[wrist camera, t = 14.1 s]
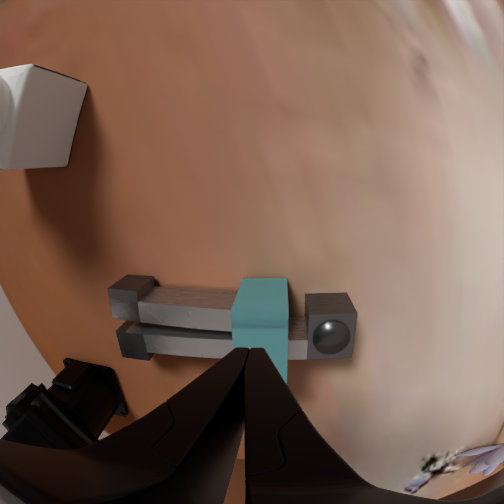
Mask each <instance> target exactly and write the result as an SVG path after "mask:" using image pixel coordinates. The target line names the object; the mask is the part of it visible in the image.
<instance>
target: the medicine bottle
mask: <svg viewBox="0 0 504 504" xmlns="http://www.w3.org/2000/svg"><path fill="white" fill-rule="evenodd" d="M87 86H88V85H87V83H85V82H83V81H80V80H77V79H75V78H72V77H69V76H66V75H64V74H61V73H58V72H55V71H52V70H49V69H46V68H43V67H40V66H37V65H33V64H28V65H21V66H15V67H10V68H5V69H0V169H3V170H16V169H30V168H48V167H65V166H67V164H68V161H69V156H70V151H71V146H72V141H73V137H74V133H75V129H76V125H77V121H78V117H79V113H80V110H81V106H82V103H83V99H84V96H85V93H86V90H87Z"/></svg>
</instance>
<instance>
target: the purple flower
mask: <svg viewBox="0 0 504 504" xmlns="http://www.w3.org/2000/svg"><path fill="white" fill-rule="evenodd" d="M493 449H494V450H493ZM490 450H491V451H490ZM487 451H489V452H487ZM484 452H487V453H485V454H483V455H481V456H479V457H477V458H475V459H474V460H472V461H470V462H469V463H467V464H466V465H464V466H463V467H466V466H469V465H472V464H475V463H477V462H478V463H477V464H476V465H475V466H474V467H473V468H472V469H471V470H470V471H469V474H474V473H478V472H481V471H482V472H483V476H487V475H489V474H490V473H492V472H493V471H494V470H495V469H496V468H497V466H498V465H499V464H502V463H501V462H503V463H504V443H502V444H498V445H495V446H487V447H481V448H476V449H472V450H469V451H466V452H463V453H460V454H457V455H455V456H473V455H478V454H481V453H484Z"/></svg>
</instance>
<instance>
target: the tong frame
mask: <svg viewBox="0 0 504 504" xmlns="http://www.w3.org/2000/svg"><path fill="white" fill-rule="evenodd" d="M356 320H357V311H356V310H355V308H354V306H353V304H352V302H351V300H350V298H349V296H348V294H347V293H319V294H305V317H289V318H288V360H307V359H333V358H350V357H352V351H353V344H354V336H355V329H356ZM116 334H117V338H118V342H119V345H120V349H121V353H122V356H123V357H126V358H133V359H140V360H148V361H149V360H150V359H151V358H152V356H153V355H154V353H158V354H168V355H179V356H191V357H204V358H223V357H224V356H225V355H227V354H228V353H229V352H230V351H232V350H233V340H232V332H231V331H218V330H206V329H195V328H185V327H176V326H167V325H159V324H151V323H144V322H136V321H129V320H126V321H125V322H124V323H123V324H122V325H121V326H120V327H119V328H118V329H117V330H116Z"/></svg>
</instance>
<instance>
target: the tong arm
mask: <svg viewBox="0 0 504 504" xmlns="http://www.w3.org/2000/svg"><path fill="white" fill-rule="evenodd" d="M108 293H109V300H110V305H111V311H112V316H113V318H116V319H123V320H129V321H136V322H144V323H151V324H159V325H167V326H176V327H185V328H195V329H206V330H218V331H231V332H232V327H231V315H230V311H231V308H232V306H233V303H234V300H235V298H236V295H237V292H236V291H219V290H203V289H188V288H174V287H161V286H155V280H154V276H141V275H126V276H125V277H123V278H122V279H120V280H119V281H117V282H116V283H115V284H113V285H112V286H110V287H109V288H108ZM288 318H289V305H288Z"/></svg>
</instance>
